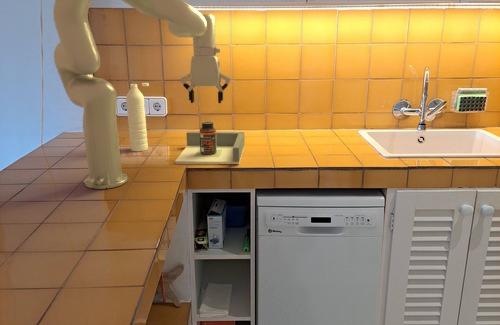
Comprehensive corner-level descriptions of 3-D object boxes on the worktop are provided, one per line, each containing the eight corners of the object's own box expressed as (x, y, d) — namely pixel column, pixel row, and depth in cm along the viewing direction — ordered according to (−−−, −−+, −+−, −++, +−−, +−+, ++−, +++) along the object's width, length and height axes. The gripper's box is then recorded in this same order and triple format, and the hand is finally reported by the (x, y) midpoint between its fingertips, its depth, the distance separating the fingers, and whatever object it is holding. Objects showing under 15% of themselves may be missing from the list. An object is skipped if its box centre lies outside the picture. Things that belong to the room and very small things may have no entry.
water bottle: (132, 152, 169) (125, 85, 161) (129, 148, 174) (123, 83, 167) (155, 149, 172) (150, 84, 164) (152, 145, 178) (147, 81, 170)
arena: (239, 164, 153) (238, 147, 151) (175, 163, 155) (174, 147, 153) (244, 147, 174) (244, 132, 172) (188, 146, 176) (187, 131, 174)
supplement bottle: (202, 156, 159) (201, 124, 156) (198, 151, 165) (196, 121, 161) (218, 154, 161) (217, 123, 158) (214, 150, 167) (212, 120, 163)
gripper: (231, 51, 155) (231, 101, 161) (181, 51, 157) (184, 100, 162) (228, 53, 148) (229, 104, 153) (176, 53, 149) (179, 104, 155)
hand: (206, 102), depth 158 cm, fingers open, 9 cm apart
